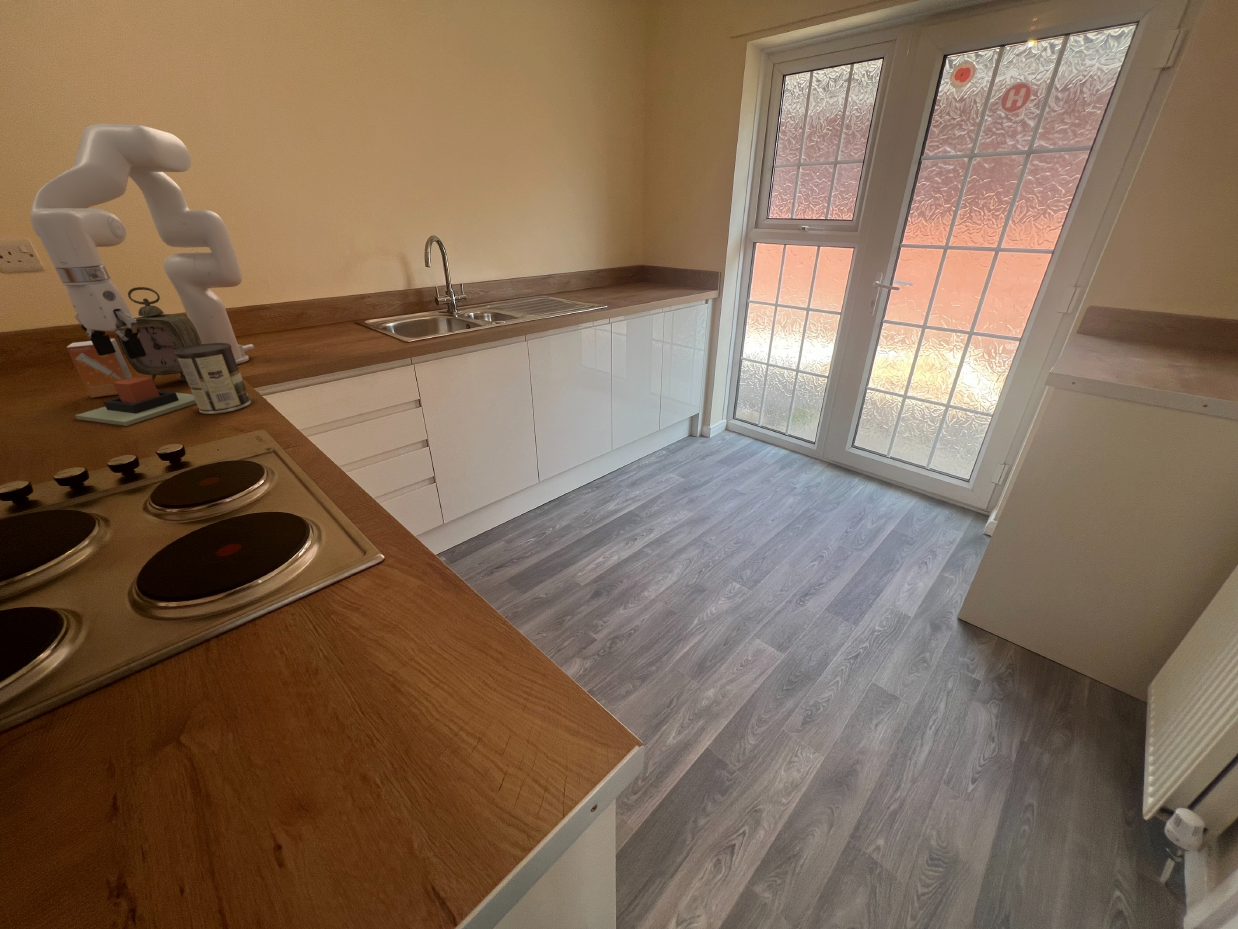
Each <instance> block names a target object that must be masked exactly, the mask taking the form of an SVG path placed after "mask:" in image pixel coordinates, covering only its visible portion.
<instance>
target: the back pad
mask: <svg viewBox="0 0 1238 929" xmlns="http://www.w3.org/2000/svg"><path fill="white" fill-rule="evenodd" d="M157 391H158V393H159V395H160V396H157V397H154V398H150V399H147V400H143V401H140V402H137V403H128V402H122V401H121V399H120V396H118V397H115V398H111V399H108V400H105V401H103V402H102V404H104V406H102V407H98V408H95V409H91V410H88V411H85V412H81V413H77V414H74V417H75V419H76V420H80V421H87V422H94V423H95V422H96V423H100V424H101V423H102V424H108V425H115V426H123V427H128V426H131V425H135V424H138V423H141V422H143V421H147V420H150V419H153V418H156V417H158V416H161V415H165V414H169V413H171V412H175V411H178V410H180V409H183V408H187V407H190V406H194V405H197V403H196V401H195V399H194V396H193V394H191V393H182V392H174V391H165V390H157Z"/></svg>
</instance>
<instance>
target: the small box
mask: <svg viewBox="0 0 1238 929" xmlns="http://www.w3.org/2000/svg"><path fill="white" fill-rule="evenodd" d="M110 340H111V342H112V344H113V346H114V348H115V350H116V352H115V353H112V354H107V355H103V356H100V355H98V353H97V351H96V349H95V347H94V345H93V343H92V341H91V340H87V341H79V342H72V343H70V344H68V345H67V346H66V349H67V351H68V354H69V355H70V358H71V360H72V362H73V364H74V366H75V369H76V370H77V372H78V374H79V376H80V378H81V381H82V383H83V384H84V387H85V388H86V390H87V392H88V394H89V397H90V398H91V399H93V398H101V397H107V396H117V395H119V394H118V392H117V390H116V388H115V386H114V384H113V383H114V382H118V381H122V380H126V379H130V378H133V376H132V374H131V371H130V369H129V367H128V364H127V362H126V360H125V359H124V356H123V354H122V351H121V349H120V346H119V345H118V343H117V340H116V338H110Z"/></svg>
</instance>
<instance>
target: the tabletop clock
mask: <svg viewBox="0 0 1238 929" xmlns="http://www.w3.org/2000/svg"><path fill="white" fill-rule="evenodd" d="M135 291H149V292H152V293H153V294H155V295H156V296H157V298H156V299H155V300H151V301H149V299H148V298H146V297H145V298H142V301H139V300H136V299H133V298H132V294H133V293H134V292H135ZM127 297H128V298H129V300H130V301H131V302H133V303H135V304H138V305H143V306H141V307H140V308H139V309H138V317H133V318H134V319H135V320H136V321H137V327H138V329H139V333H138V334H139V336H140V338H139V339H140V342H141V344H142V346H143V348H144V350H145V353H146V356H143V357H139V358H135V359H130V358H129V357H128V355H127V353H126V350H125V348H124V346H123V344H122V342H121V341H124V340H123V339H122V338H121V337H120V336H119V335H118V334H117V333H116V337H117V339H118V342H119V345H120V348H121V350H122V352H123V354H124V355H125V357H126V359H127V362H128V364H130V365H131V367H132V368H133V369H134V371H135V372H136V373H137V374H142V375H146V376H151V378H152V379H153V382H154V384H155V385H156V382H155V379H156V377H157V376H169V375H176V374H179V375H180V376H179V378H180V380H181V381H184V382H185V381H186V382H187V380H186V377H185V375H184V373H183V370H182V368H181V365H180V363H179V361H178V358H177V356H176V355H175V353H174V352H175V351H176V350H178V349H181V348H184V347H189V346H194V345H201V344H202V343H201V340H200V337H199V335H198V333H197V330H196V328H195V326H194V325H193V323H192V322H191V321H190V319H189V318H188V317H187V316H185V315H182V314H171V313H170V314H168V313H166V314H165V312H164V311H163V309H161V308H160V307H158V306H156V305H154V304H156V303H158V302H159V301H160V300H161V296H160V294H159V293H158V292H157V291H156V290H155V289H153V288H150V287H146V286H136V287H132V288H131V289H129V290H128V292H127ZM123 332H124V333H125V332H126V330H125V331H123Z"/></svg>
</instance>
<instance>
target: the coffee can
mask: <svg viewBox="0 0 1238 929" xmlns="http://www.w3.org/2000/svg"><path fill="white" fill-rule="evenodd" d="M174 353H175V355H176V356H177V358H178V361H179V363H180V365H181V368H182V370H183V375H185V377H186V382H187V385H188V387H189V389H190V391H191V393H192V394H193V396H194V399H195V401H196V406H197V409H198V412H199V413H201V414H205V415H217V414H224V413H229V412H233V411H237V410H240V409H244V408H246V407H248V406H249V405H251V404H252V401H251V399H250V396H249V394H248V391H247V389H246V386H245V382H244V380H243V377H242V374H241V372H240V369H239V366H238V364H237V363H236V360H235V358H234V355H233V352H232V349H231V345H230V344H228V343H209V344H201V345H194V346H189V347H184V348H181V349H178V350H176V351H175V352H174Z"/></svg>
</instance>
